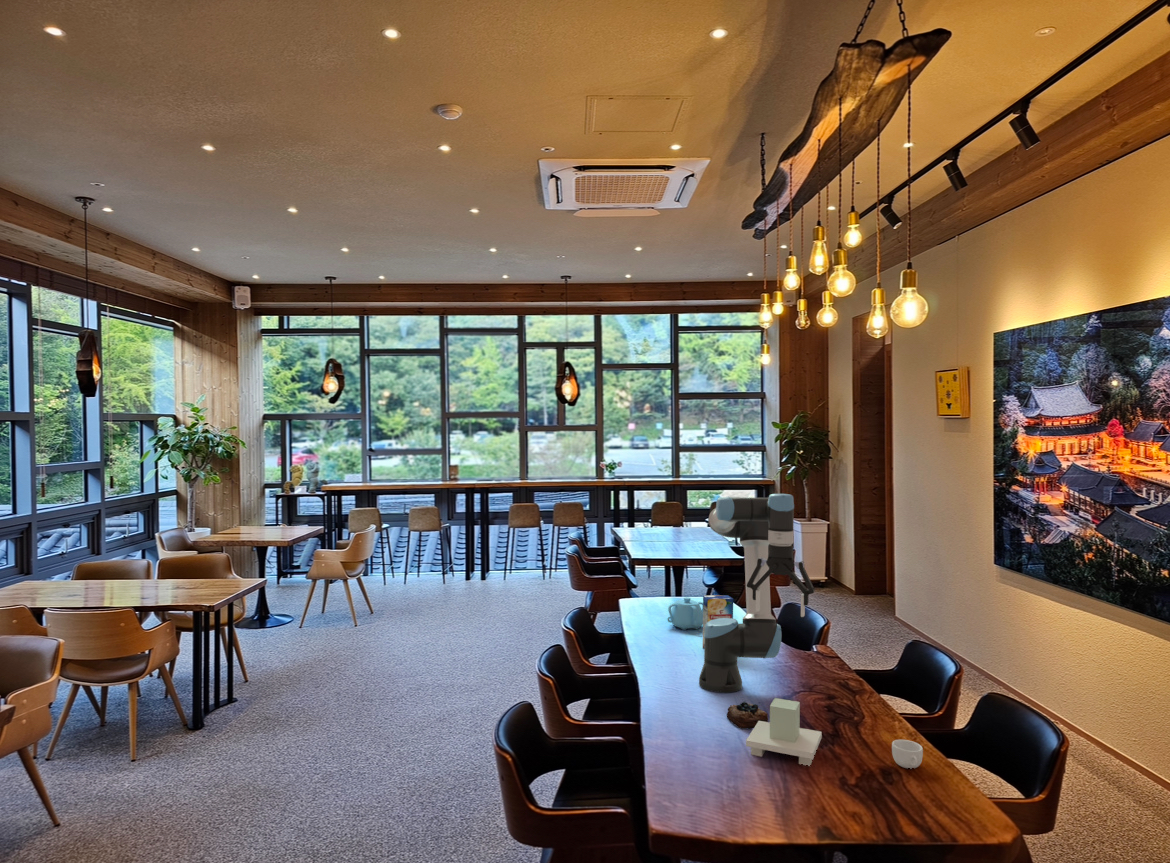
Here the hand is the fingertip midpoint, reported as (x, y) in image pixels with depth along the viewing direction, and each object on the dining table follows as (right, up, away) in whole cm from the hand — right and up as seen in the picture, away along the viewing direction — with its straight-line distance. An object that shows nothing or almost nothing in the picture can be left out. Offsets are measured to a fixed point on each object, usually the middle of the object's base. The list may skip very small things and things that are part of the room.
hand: (780, 613), depth 227 cm
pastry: (-9, -35, +4) cm, 37 cm away
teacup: (+28, -35, -27) cm, 52 cm away
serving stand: (-4, -35, -19) cm, 39 cm away
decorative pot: (-12, -36, +118) cm, 124 cm away
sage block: (-4, -30, -18) cm, 35 cm away
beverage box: (-5, -35, +81) cm, 88 cm away
